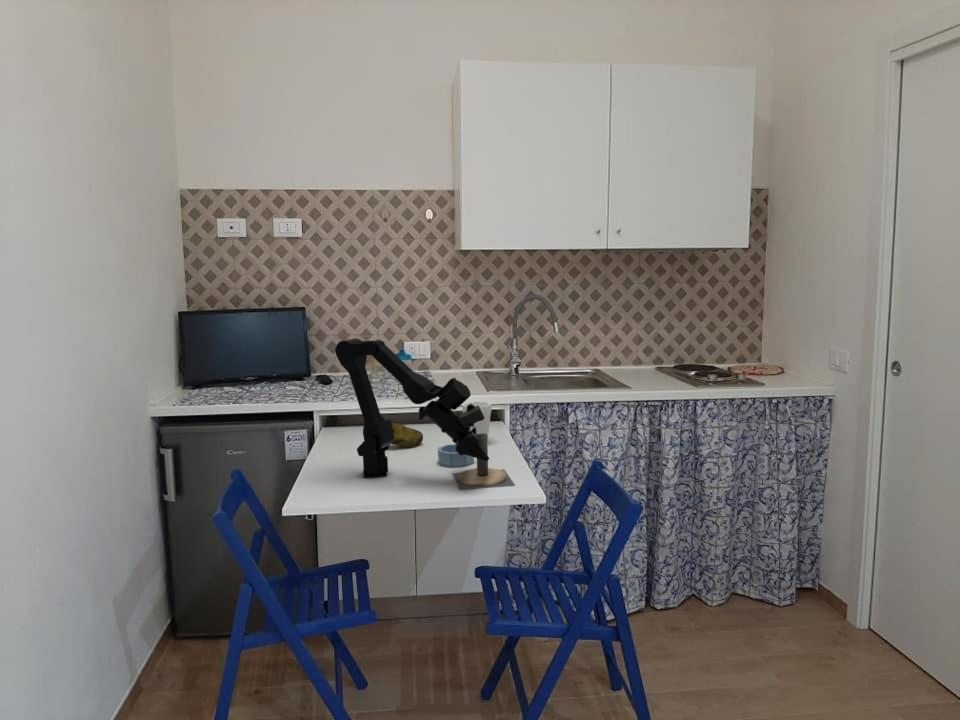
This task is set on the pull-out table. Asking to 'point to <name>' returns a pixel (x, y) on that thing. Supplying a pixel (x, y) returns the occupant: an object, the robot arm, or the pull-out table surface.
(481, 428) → the foam cup
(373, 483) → the pull-out table surface
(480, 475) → the paper towel holder
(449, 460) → the bowl
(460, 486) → the mat
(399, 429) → the potato
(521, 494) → the pull-out table surface
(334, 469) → the pull-out table surface
